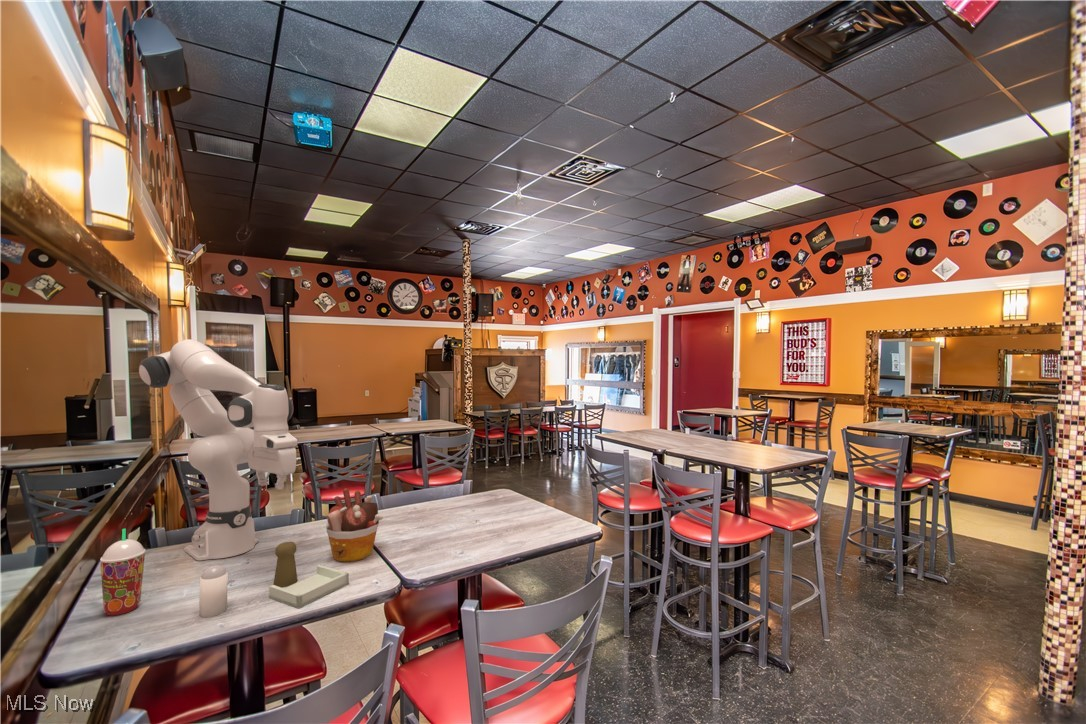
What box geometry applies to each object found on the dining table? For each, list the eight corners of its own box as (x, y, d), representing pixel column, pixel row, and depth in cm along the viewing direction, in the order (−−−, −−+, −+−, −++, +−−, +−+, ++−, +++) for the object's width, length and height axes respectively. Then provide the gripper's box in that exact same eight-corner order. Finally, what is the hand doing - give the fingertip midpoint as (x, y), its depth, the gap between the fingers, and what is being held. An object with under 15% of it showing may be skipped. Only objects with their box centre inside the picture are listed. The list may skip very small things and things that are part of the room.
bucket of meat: (387, 559, 145) (388, 496, 145) (331, 572, 135) (332, 504, 136) (370, 540, 161) (370, 483, 162) (319, 551, 151) (319, 490, 152)
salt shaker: (194, 614, 112) (195, 567, 112) (219, 603, 117) (220, 559, 117) (207, 619, 109) (207, 572, 109) (231, 609, 114) (232, 563, 114)
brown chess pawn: (280, 589, 124) (281, 548, 125) (268, 584, 128) (269, 544, 128) (302, 581, 129) (302, 542, 130) (290, 576, 133) (290, 537, 133)
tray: (269, 597, 120) (269, 586, 120) (320, 575, 133) (320, 564, 133) (298, 608, 114) (298, 596, 114) (348, 584, 128) (348, 573, 128)
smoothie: (91, 622, 108) (93, 536, 109) (108, 605, 116) (110, 526, 116) (136, 614, 112) (138, 532, 112) (149, 599, 119) (151, 521, 120)
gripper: (242, 438, 137) (241, 485, 136) (278, 443, 125) (278, 494, 125) (264, 436, 142) (264, 480, 141) (300, 440, 131) (300, 489, 130)
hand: (270, 487), depth 133 cm, fingers open, 8 cm apart
